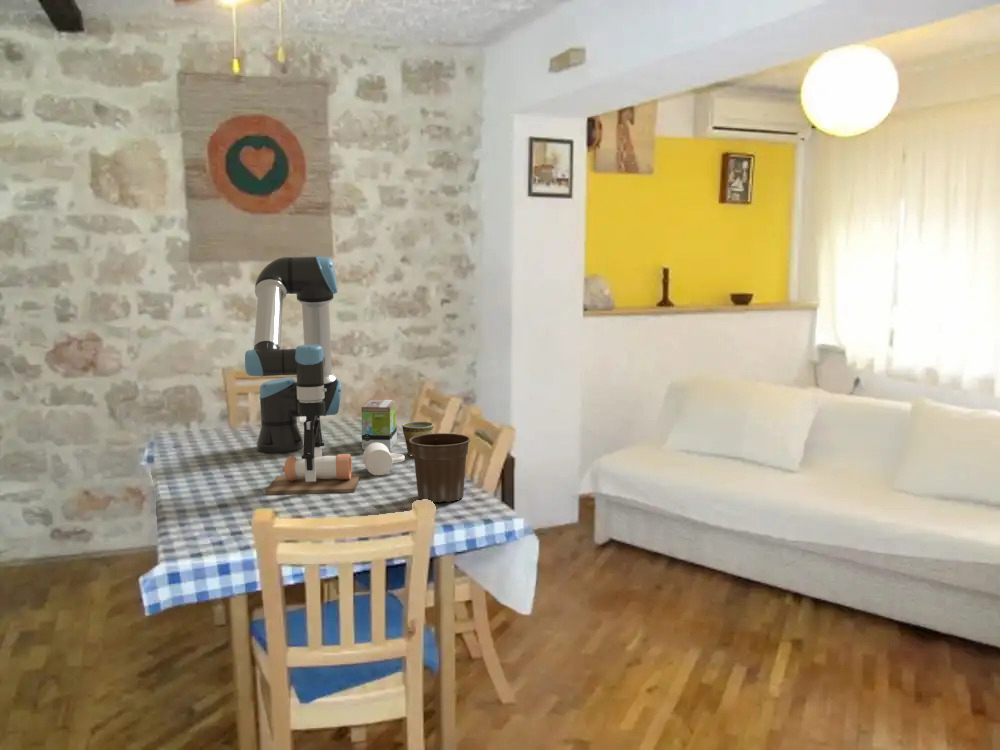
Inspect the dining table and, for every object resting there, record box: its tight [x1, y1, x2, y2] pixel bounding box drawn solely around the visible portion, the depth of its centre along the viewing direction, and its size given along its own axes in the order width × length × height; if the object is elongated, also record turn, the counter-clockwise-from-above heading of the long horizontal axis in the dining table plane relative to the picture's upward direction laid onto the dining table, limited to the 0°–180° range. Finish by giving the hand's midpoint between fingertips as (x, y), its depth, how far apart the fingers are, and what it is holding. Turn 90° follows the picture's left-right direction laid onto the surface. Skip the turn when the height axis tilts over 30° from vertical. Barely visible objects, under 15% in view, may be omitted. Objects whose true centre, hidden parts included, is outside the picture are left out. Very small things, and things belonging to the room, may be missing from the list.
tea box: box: [361, 399, 398, 451], centre depth 299 cm, size 15×10×15 cm, turn 179°
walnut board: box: [265, 473, 361, 495], centre depth 250 cm, size 24×16×1 cm, turn 93°
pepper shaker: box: [281, 453, 352, 481], centre depth 252 cm, size 7×7×19 cm
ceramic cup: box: [401, 421, 434, 456], centre depth 287 cm, size 13×10×10 cm
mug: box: [362, 443, 406, 476], centre depth 265 cm, size 12×10×8 cm
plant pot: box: [409, 432, 471, 504], centre depth 236 cm, size 16×16×16 cm
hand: (314, 475), depth 250 cm, fingers open, 12 cm apart
